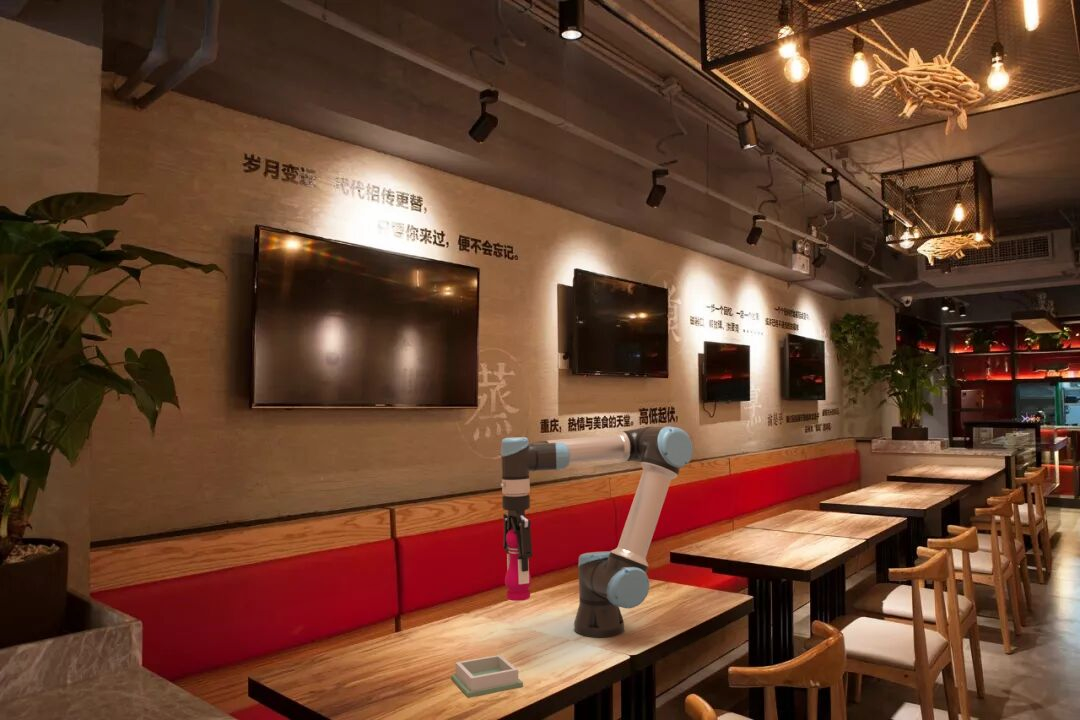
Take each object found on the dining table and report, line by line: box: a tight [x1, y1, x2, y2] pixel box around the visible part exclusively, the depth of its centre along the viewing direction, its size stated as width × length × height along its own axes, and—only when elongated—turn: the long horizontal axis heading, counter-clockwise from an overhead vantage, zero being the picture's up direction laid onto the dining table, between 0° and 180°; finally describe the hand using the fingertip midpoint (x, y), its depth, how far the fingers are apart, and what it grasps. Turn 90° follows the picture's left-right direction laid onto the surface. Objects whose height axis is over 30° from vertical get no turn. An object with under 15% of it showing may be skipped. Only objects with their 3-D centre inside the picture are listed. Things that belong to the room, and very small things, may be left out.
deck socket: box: [450, 654, 524, 698], centre depth 172 cm, size 14×13×4 cm
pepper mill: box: [504, 529, 532, 602], centre depth 189 cm, size 7×7×20 cm
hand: (518, 580), depth 189 cm, fingers closed on pepper mill, 7 cm apart
